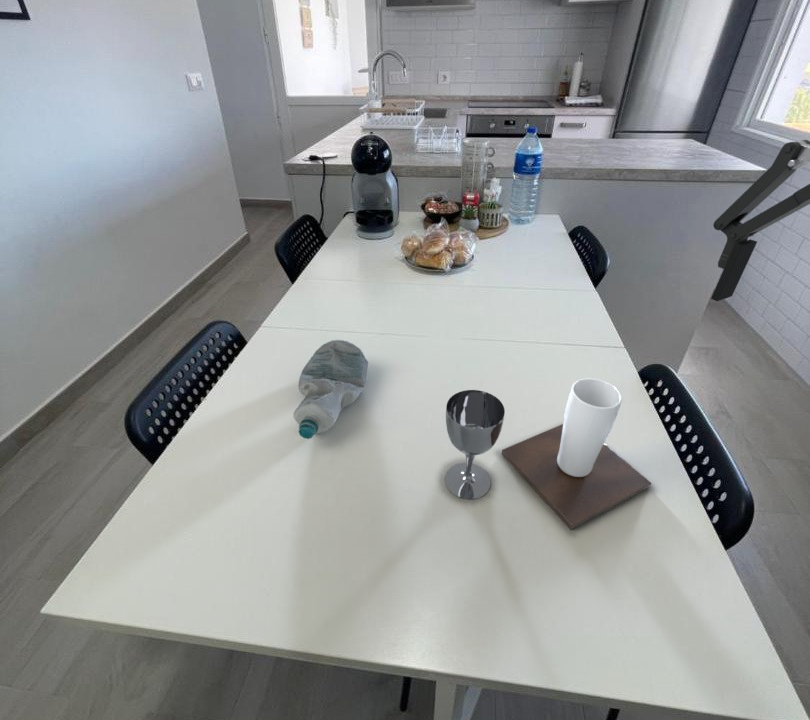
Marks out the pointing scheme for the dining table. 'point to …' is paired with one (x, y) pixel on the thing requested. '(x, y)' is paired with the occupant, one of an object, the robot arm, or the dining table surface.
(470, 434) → the silver metal goblet
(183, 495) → the dining table surface
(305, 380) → the crushed plastic bottle
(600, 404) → the drinking glass
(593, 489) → the walnut board
